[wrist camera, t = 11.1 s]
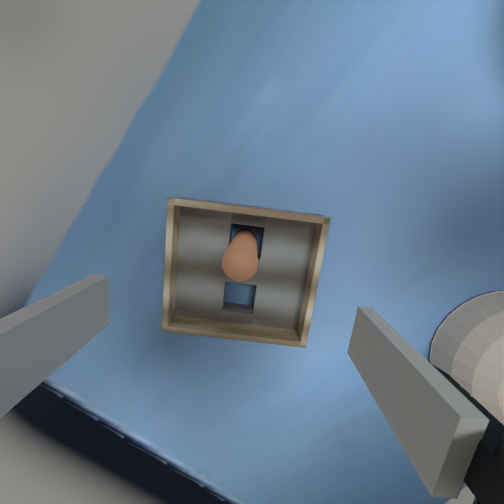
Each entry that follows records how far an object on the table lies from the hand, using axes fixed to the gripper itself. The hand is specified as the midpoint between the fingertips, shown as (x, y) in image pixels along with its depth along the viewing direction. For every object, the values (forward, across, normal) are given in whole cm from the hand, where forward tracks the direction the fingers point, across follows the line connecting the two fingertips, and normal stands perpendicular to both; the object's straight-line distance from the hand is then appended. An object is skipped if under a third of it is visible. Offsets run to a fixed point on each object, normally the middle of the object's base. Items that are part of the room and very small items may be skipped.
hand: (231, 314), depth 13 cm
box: (+25, 0, -4) cm, 25 cm away
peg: (+25, 0, 0) cm, 25 cm away
